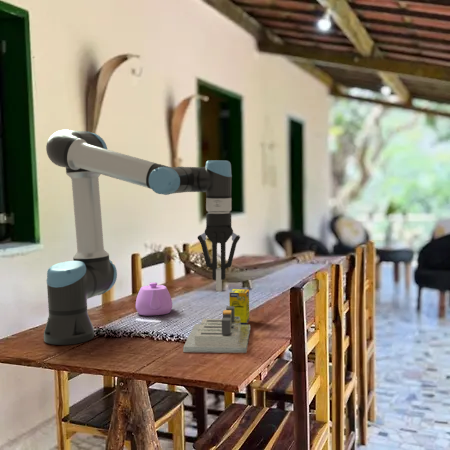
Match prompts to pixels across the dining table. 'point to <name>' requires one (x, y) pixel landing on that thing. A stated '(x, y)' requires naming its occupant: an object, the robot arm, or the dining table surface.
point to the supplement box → (240, 304)
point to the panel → (219, 347)
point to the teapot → (153, 300)
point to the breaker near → (226, 325)
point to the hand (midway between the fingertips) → (219, 290)
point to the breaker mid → (227, 314)
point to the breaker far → (232, 311)
